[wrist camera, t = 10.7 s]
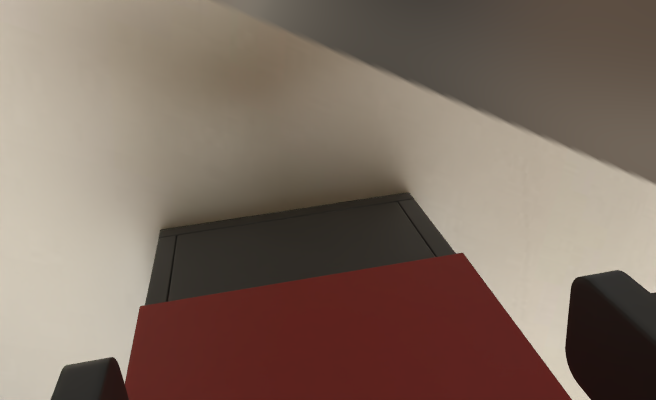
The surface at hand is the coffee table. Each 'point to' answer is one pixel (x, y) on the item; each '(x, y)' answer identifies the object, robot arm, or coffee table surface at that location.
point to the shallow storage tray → (291, 246)
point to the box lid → (341, 341)
